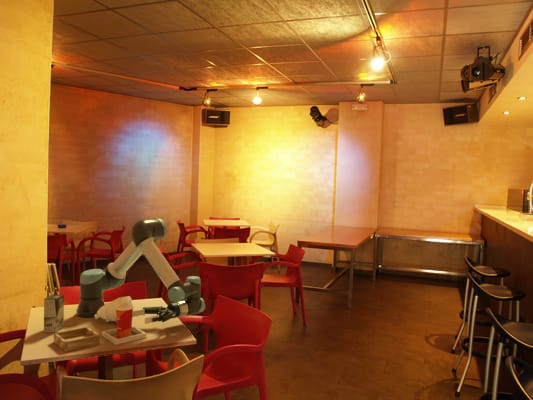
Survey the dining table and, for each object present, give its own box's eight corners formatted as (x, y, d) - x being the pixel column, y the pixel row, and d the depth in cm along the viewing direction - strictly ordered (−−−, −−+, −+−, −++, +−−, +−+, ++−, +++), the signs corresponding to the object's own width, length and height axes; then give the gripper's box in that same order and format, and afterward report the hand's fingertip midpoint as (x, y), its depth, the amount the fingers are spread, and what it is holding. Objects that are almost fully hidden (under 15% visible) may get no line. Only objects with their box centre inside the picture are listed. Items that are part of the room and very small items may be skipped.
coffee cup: (117, 333, 217) (117, 302, 216) (134, 333, 217) (135, 302, 217) (112, 339, 208) (113, 307, 208) (131, 339, 209) (131, 307, 208)
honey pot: (130, 326, 231) (94, 331, 229) (134, 312, 243) (100, 317, 241) (125, 304, 226) (88, 309, 225) (129, 291, 239) (95, 296, 237)
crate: (53, 341, 204) (53, 333, 203) (87, 335, 214) (87, 326, 214) (65, 351, 193) (65, 342, 192) (99, 343, 203) (100, 335, 202)
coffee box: (57, 332, 216) (57, 299, 215) (43, 332, 215) (43, 299, 215) (64, 326, 225) (64, 294, 224) (50, 326, 225) (50, 294, 224)
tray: (101, 335, 213) (102, 331, 213) (131, 329, 223) (131, 325, 223) (115, 344, 202) (115, 340, 202) (146, 337, 212) (146, 333, 212)
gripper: (190, 323, 222) (151, 332, 208) (164, 311, 241) (126, 318, 226) (190, 308, 222) (151, 315, 208) (164, 297, 240) (126, 304, 226)
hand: (138, 317), depth 217 cm, fingers open, 13 cm apart
